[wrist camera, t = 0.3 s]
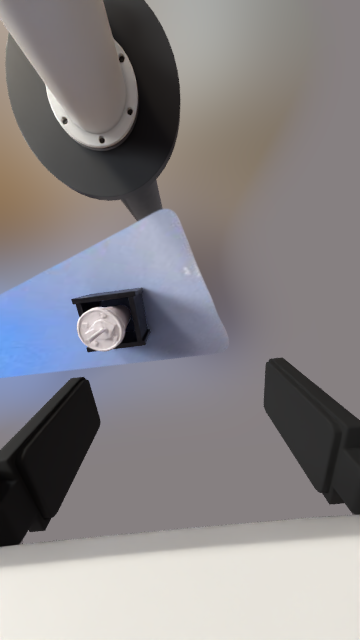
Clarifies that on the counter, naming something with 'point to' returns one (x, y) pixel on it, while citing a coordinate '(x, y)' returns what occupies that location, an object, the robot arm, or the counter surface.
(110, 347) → the smoothie
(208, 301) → the counter surface
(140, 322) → the bottle stand
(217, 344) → the counter surface
